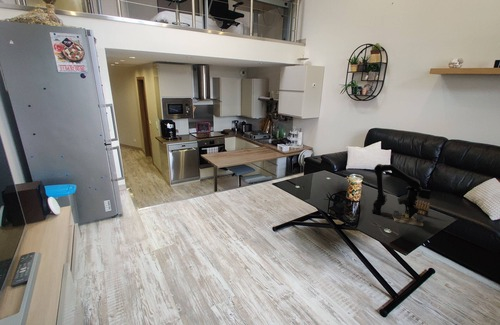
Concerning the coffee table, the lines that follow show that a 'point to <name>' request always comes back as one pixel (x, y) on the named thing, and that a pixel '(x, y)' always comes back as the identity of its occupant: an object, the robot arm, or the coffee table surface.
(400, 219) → the shaft stand
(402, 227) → the coffee table surface
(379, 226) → the pliers
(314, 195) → the coffee table surface
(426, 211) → the ammunition clip
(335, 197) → the coffee table surface
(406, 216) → the block
